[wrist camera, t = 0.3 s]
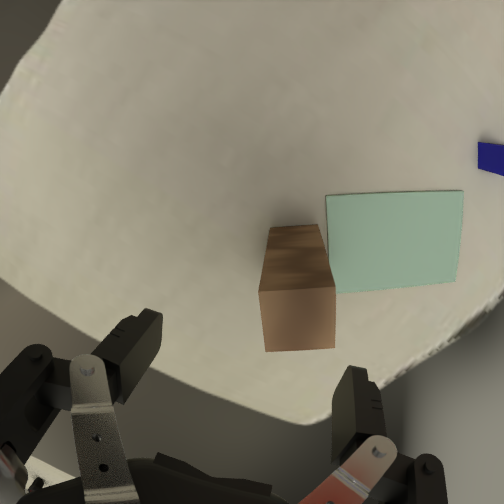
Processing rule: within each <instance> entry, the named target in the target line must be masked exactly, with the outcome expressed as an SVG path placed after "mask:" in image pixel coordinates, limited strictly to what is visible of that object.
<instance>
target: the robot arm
mask: <svg viewBox="0 0 504 504" xmlns="http://www.w3.org/2000/svg"><path fill="white" fill-rule="evenodd" d="M162 323H163V315H162V313H159V312H156V311H153V310H151V309H148V308H145V309H144V310H143V311H142V312H141V313H140V314H139V315H138V317H135V316H133V315H131V316H129V317H127V318H124V319H122V320H121V321H120V322H119V323H118V324H117V325H116V327H115V329H113V330H112V331H111V332H110V334H108V335H107V336H106V338H105V339H104V340H103V341H102V342H101V343H100V344H99V345H98V346H97V348H96V349H95V350H94V351H93V352H92V353H91V354H84V355H80V356H77V357H75V358H74V359H73V360H72V361H70V360H64V359H60V358H54V357H53V356H52V352H51V350H50V349H49V348H48V347H46V346H45V345H41V344H33V345H30V346H27V347H26V348H25V349H24V350H23V351H22V352H21V353H20V354H19V355H18V356H17V357H16V358H15V359H14V360H13V361H12V362H11V363H10V364H9V365H8V366H7V367H6V369H5V370H4V371H3V372H2V373H1V374H0V504H289V503H288V502H287V501H285V500H284V499H283V498H281V497H279V496H278V495H276V494H274V493H271V490H272V485H269V484H264V483H259V482H254V481H250V480H246V479H231V478H215V477H211V476H209V475H207V474H205V473H203V472H202V471H200V470H198V469H196V468H194V467H193V466H191V465H189V464H188V463H186V462H184V461H181V460H178V459H175V458H172V457H169V456H167V455H164V454H161V453H159V452H158V453H157V455H156V457H155V459H153V458H133V459H127V460H126V457H125V453H124V449H123V446H122V442H121V438H120V434H119V430H118V426H117V422H116V418H115V413H114V409H113V404H114V403H115V401H116V402H118V403H121V404H123V405H124V404H125V402H126V401H127V399H128V398H129V396H130V395H131V393H132V391H133V390H134V388H135V387H136V385H137V384H138V382H139V381H140V379H141V378H142V376H143V375H144V373H145V372H146V370H147V368H148V367H149V366H150V364H151V363H152V361H153V360H154V358H155V357H156V355H157V353H158V351H159V349H160V346H161V340H162ZM381 401H382V400H381V394H380V390H379V389H378V387H377V386H376V384H375V382H371V381H368V374H367V369H366V368H361V367H356V366H351V365H349V366H348V367H347V369H346V371H345V373H344V374H343V376H342V378H341V380H340V382H339V384H338V386H337V387H336V389H335V392H334V395H333V399H332V443H331V445H332V446H331V447H332V448H331V464H333V465H340V468H339V469H337V470H335V471H334V472H333V473H332V474H331V475H330V476H329V477H328V478H327V479H326V480H325V481H324V482H322V483H321V484H320V485H319V486H318V487H317V488H316V489H315V490H314V491H312V492H311V493H310V494H309V495H308V496H307V497H306V498H304V499H303V500H302V501H301V502H300V503H298V504H362V502H363V501H364V500H365V499H366V498H367V497H371V498H374V499H377V500H378V504H448V499H447V490H446V483H445V475H444V468H443V465H442V463H441V461H440V460H439V459H438V458H437V457H436V456H434V455H432V454H421V455H420V456H418V457H417V458H416V459H413V458H410V457H408V456H405V455H402V454H400V453H398V452H397V449H396V447H395V445H394V443H393V442H392V441H391V440H390V439H388V438H387V435H386V427H385V420H384V413H383V410H382V409H383V406H382V403H381ZM61 409H63V410H68V411H71V418H72V426H73V433H74V440H75V447H76V453H77V459H78V464H79V470H80V475H81V476H80V477H77V478H74V479H71V480H68V481H65V482H62V483H59V484H55V485H52V486H49V487H45V488H42V489H38V490H34V491H31V492H29V493H27V494H26V493H25V487H26V483H27V481H28V472H27V469H26V467H25V466H24V465H25V463H26V462H27V460H28V459H29V457H30V455H31V454H32V452H33V451H34V449H35V448H36V446H37V445H38V443H39V442H40V440H41V439H42V437H43V436H44V434H45V433H46V431H47V430H48V428H49V427H50V425H51V424H52V422H53V421H54V419H55V418H56V416H57V415H58V413H59V412H60V410H61Z"/></svg>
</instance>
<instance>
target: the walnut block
mask: <svg viewBox="0 0 504 504" xmlns="http://www.w3.org/2000/svg"><path fill="white" fill-rule="evenodd" d="M258 293H259V302H260V310H261V318H262V326H263V335H264V343H265V351H266V352H278V351H298V350H314V349H328V348H335V325H336V285H335V282H334V278H333V275H332V271H331V267H330V264H329V260H328V257H327V254H326V250H325V247H324V243H323V240H322V237H321V233H320V230H319V227H318V224H316V225H302V226H288V227H275V228H270V231H269V236H268V242H267V247H266V253H265V258H264V264H263V269H262V274H261V280H260V285H259V290H258Z"/></svg>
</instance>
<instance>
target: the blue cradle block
mask: <svg viewBox="0 0 504 504" xmlns="http://www.w3.org/2000/svg"><path fill="white" fill-rule="evenodd" d="M478 168H479V169H482V170H485V171H489V172H492V173H495V174H499V175H502V176H504V145H498V144H490V143H481V142H478Z"/></svg>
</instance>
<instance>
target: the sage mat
mask: <svg viewBox="0 0 504 504" xmlns="http://www.w3.org/2000/svg"><path fill="white" fill-rule="evenodd" d="M463 199H464V191H462V190H456V191H409V192H382V193H361V194H343V195H326V209H327V229H328V255H329V264H330V267H331V271H332V275H333V278H334V282H335V285H336V294H338V293H350V292H362V291H373V290H384V289H394V288H404V287H414V286H423V285H432V284H441V283H449V282H455V280H456V274H457V267H458V259H459V251H460V241H461V230H462V217H463Z"/></svg>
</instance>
